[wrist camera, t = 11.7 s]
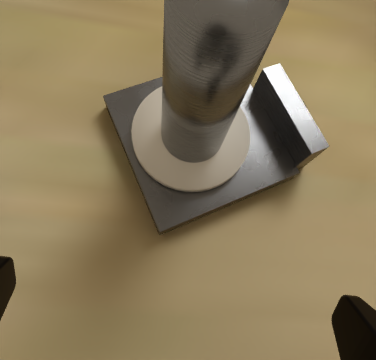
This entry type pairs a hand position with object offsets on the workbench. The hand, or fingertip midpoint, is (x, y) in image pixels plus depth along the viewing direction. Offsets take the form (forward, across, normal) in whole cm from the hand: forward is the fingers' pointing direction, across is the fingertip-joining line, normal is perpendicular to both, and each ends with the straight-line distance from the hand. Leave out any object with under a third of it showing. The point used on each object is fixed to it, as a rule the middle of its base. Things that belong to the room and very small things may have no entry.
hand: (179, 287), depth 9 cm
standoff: (+15, 0, +1) cm, 15 cm away
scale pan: (+16, 0, +1) cm, 16 cm away
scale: (+17, -1, +2) cm, 17 cm away
